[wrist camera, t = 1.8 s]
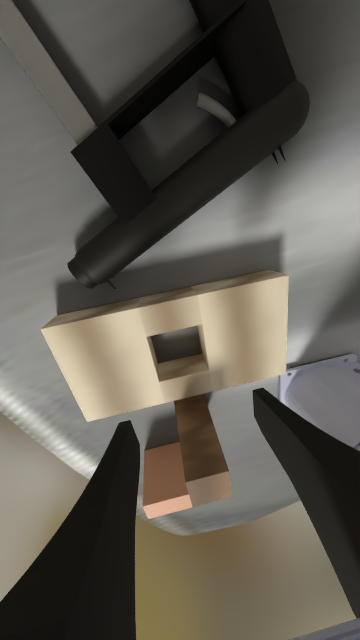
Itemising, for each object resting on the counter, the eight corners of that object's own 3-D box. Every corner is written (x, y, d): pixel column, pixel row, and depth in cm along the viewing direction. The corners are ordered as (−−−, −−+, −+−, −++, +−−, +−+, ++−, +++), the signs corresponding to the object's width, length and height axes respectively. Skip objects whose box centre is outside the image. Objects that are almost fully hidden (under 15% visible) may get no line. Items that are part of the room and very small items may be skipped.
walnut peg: (202, 389, 24) (228, 471, 16) (205, 411, 25) (232, 496, 17) (173, 396, 24) (185, 482, 16) (178, 417, 25) (192, 507, 17)
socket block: (269, 269, 19) (288, 275, 17) (270, 357, 23) (286, 373, 21) (57, 315, 19) (40, 329, 16) (94, 398, 22) (87, 421, 20)
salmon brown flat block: (189, 438, 27) (199, 491, 21) (192, 450, 28) (203, 504, 22) (144, 450, 26) (142, 506, 21) (148, 462, 27) (148, 518, 22)
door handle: (-122, 65, 11) (98, 306, 16) (196, -294, 8) (333, 126, 13) (-58, 106, 14) (108, 296, 19) (186, -146, 11) (300, 149, 17)
